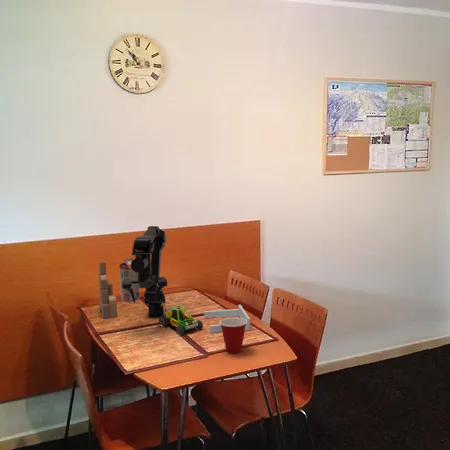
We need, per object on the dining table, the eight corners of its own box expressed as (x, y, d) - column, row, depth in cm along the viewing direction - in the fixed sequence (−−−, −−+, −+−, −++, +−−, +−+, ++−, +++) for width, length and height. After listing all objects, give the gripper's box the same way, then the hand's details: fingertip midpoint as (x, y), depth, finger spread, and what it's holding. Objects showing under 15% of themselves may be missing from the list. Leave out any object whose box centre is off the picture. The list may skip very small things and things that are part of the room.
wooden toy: (118, 317, 223) (115, 264, 219) (103, 319, 220) (100, 266, 216) (112, 307, 237) (110, 257, 233) (99, 308, 234) (96, 259, 231)
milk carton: (139, 298, 250) (137, 257, 246) (130, 302, 244) (128, 260, 241) (129, 296, 253) (128, 256, 250) (120, 300, 248) (119, 258, 244)
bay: (210, 332, 203) (210, 321, 202) (204, 317, 221) (204, 307, 221) (250, 330, 206) (250, 318, 205) (240, 315, 224) (240, 304, 224)
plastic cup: (239, 342, 192) (239, 314, 190) (252, 352, 183) (252, 322, 181) (214, 347, 187) (214, 318, 185) (227, 358, 178) (227, 327, 176)
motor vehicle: (181, 337, 199) (181, 312, 197) (156, 324, 213) (155, 301, 212) (203, 330, 206) (203, 306, 205) (177, 318, 221) (176, 296, 219)
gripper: (121, 272, 194) (122, 309, 196) (167, 269, 197) (168, 306, 199) (121, 266, 204) (123, 301, 207) (165, 263, 208) (166, 298, 210)
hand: (145, 302), depth 206 cm, fingers open, 9 cm apart
